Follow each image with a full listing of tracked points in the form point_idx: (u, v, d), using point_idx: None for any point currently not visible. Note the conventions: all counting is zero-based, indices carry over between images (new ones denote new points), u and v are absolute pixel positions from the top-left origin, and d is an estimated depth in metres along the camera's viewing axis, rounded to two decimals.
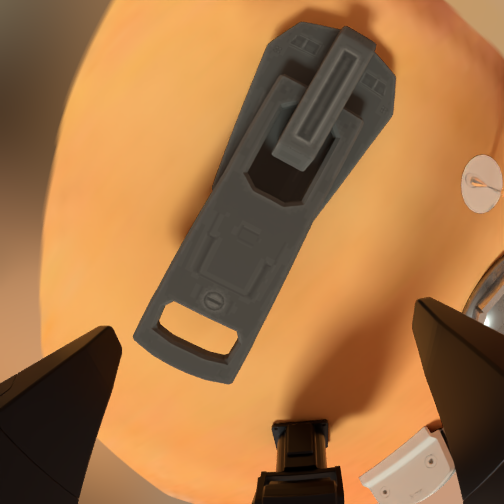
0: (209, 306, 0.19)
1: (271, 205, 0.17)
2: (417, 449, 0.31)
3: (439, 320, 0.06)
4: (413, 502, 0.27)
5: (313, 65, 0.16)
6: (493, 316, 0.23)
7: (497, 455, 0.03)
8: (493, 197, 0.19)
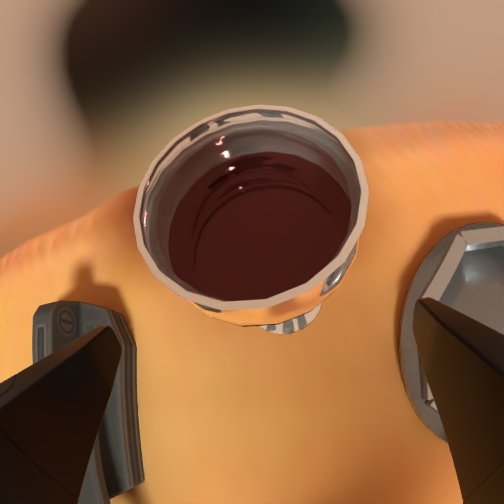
0: None
1: None
2: None
3: (439, 320, 0.06)
4: None
5: None
6: None
7: (497, 455, 0.03)
8: None
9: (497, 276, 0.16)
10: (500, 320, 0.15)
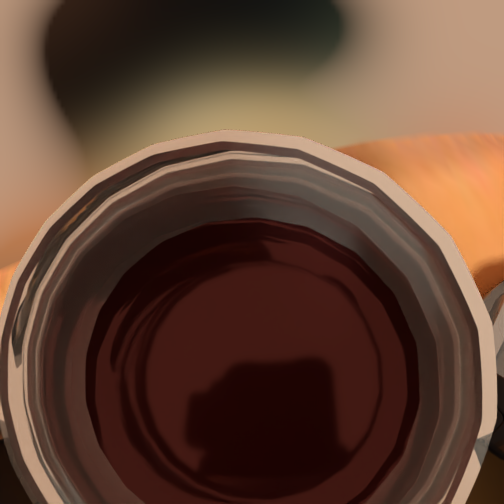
0: None
1: None
2: None
3: None
4: None
5: None
6: None
7: None
8: None
9: None
10: None
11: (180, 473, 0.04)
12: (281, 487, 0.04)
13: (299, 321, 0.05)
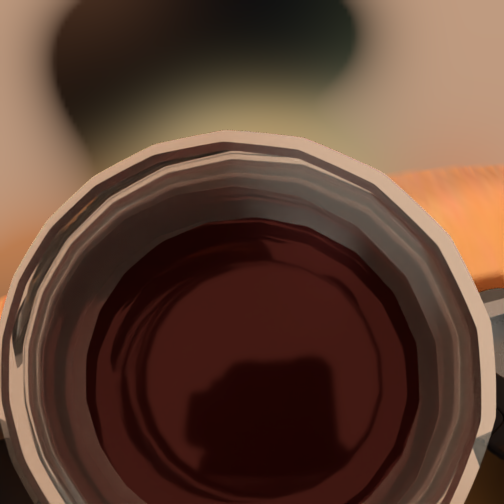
0: None
1: None
2: None
3: None
4: None
5: None
6: None
7: None
8: None
9: (500, 345, 0.15)
10: None
11: (181, 472, 0.04)
12: (281, 486, 0.04)
13: (299, 320, 0.05)
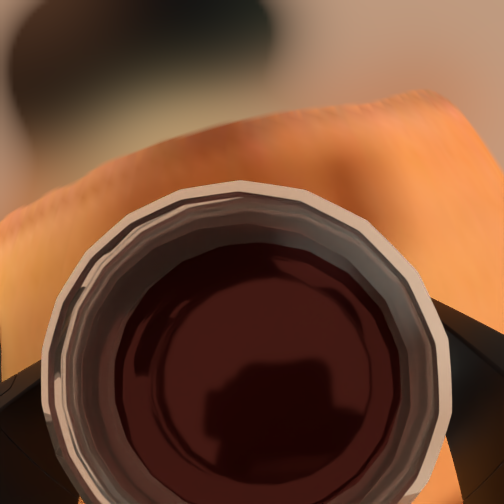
0: None
1: None
2: None
3: None
4: None
5: None
6: None
7: (496, 455, 0.03)
8: None
9: None
10: None
11: (200, 460, 0.05)
12: (286, 469, 0.05)
13: (300, 331, 0.06)
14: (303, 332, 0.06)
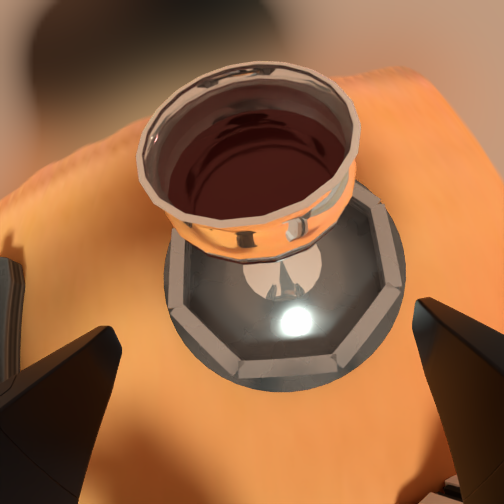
0: None
1: None
2: None
3: (439, 320, 0.06)
4: None
5: None
6: (232, 299, 0.19)
7: (497, 455, 0.03)
8: (305, 258, 0.19)
9: None
10: None
11: (226, 219, 0.10)
12: None
13: (288, 143, 0.11)
14: (290, 143, 0.11)
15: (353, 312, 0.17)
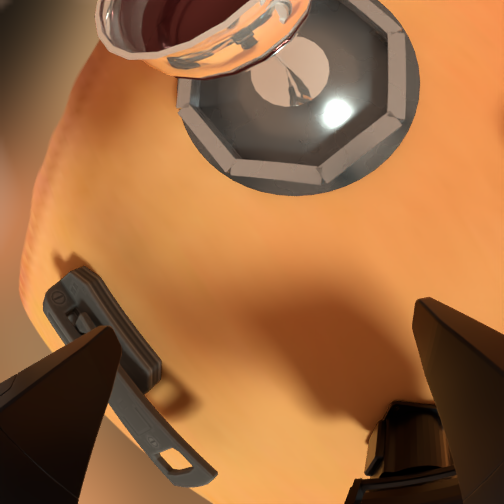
0: (155, 445, 0.23)
1: None
2: None
3: (439, 320, 0.06)
4: None
5: (71, 315, 0.28)
6: (271, 125, 0.17)
7: (497, 455, 0.03)
8: (305, 53, 0.15)
9: None
10: None
11: None
12: None
13: None
14: None
15: (378, 71, 0.14)
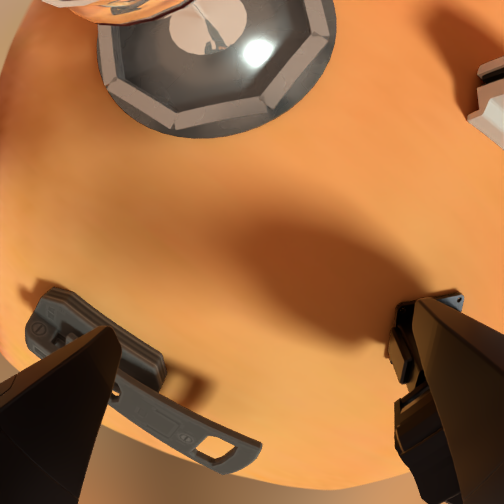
0: (189, 441, 0.23)
1: (122, 397, 0.23)
2: None
3: (439, 320, 0.06)
4: None
5: (57, 343, 0.25)
6: (202, 74, 0.16)
7: (497, 455, 0.03)
8: (219, 2, 0.14)
9: None
10: None
11: None
12: None
13: None
14: None
15: (292, 3, 0.14)
